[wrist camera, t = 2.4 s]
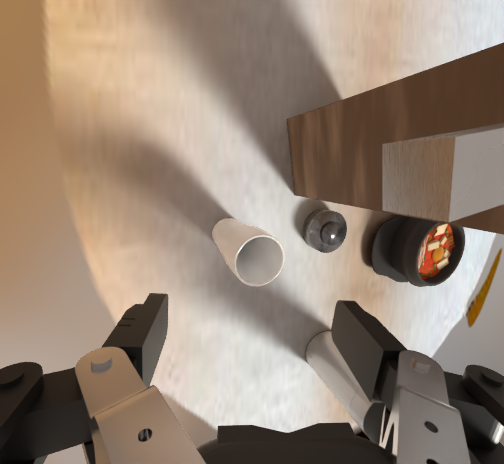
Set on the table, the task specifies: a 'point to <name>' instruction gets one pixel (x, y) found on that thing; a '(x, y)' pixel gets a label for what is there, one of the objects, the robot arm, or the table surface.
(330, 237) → the round knob
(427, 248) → the casserole
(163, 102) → the table surface
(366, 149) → the pedestal
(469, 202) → the bar
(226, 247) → the white tapered cylinder
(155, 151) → the table surface
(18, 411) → the robot arm
